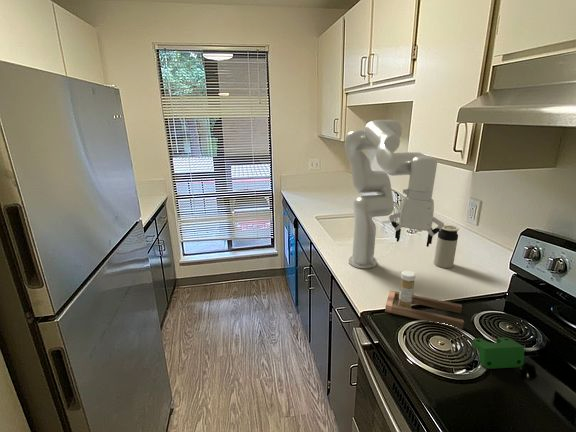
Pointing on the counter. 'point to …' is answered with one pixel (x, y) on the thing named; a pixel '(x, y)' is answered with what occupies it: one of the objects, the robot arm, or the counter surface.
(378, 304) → the counter surface
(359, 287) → the counter surface
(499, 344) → the green toy brick
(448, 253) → the travel mug
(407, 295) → the sprinkles bottle
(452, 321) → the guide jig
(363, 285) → the counter surface
